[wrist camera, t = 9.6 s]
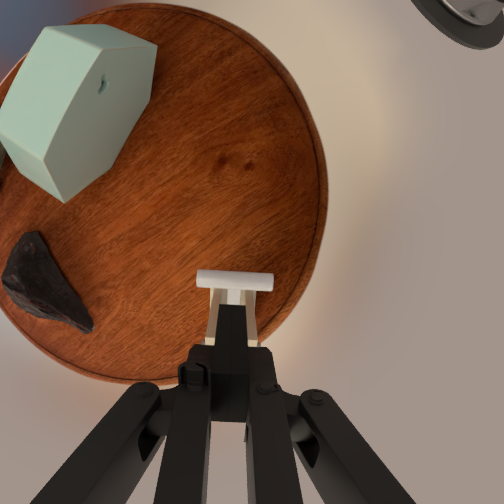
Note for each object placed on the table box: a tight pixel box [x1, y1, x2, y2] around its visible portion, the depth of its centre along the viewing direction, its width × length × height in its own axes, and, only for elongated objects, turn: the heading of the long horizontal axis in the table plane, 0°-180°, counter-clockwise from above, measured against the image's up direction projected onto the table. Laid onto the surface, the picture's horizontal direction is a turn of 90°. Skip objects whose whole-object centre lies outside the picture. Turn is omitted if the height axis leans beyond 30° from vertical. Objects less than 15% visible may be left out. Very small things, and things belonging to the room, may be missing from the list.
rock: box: [1, 231, 95, 334], centre depth 38 cm, size 7×18×9 cm, turn 31°
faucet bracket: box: [201, 288, 261, 347], centre depth 37 cm, size 6×6×14 cm
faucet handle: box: [196, 269, 274, 305], centre depth 29 cm, size 12×6×2 cm, turn 176°
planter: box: [0, 24, 158, 203], centre depth 28 cm, size 17×8×21 cm
